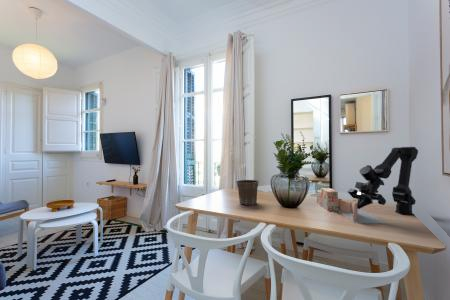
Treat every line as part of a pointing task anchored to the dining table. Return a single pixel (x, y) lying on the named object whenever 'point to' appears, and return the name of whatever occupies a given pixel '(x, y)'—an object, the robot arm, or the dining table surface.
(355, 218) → the fence panel
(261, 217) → the dining table surface
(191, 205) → the dining table surface
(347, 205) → the fixed fence section
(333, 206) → the stack of blocks
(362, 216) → the board
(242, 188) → the plant pot
